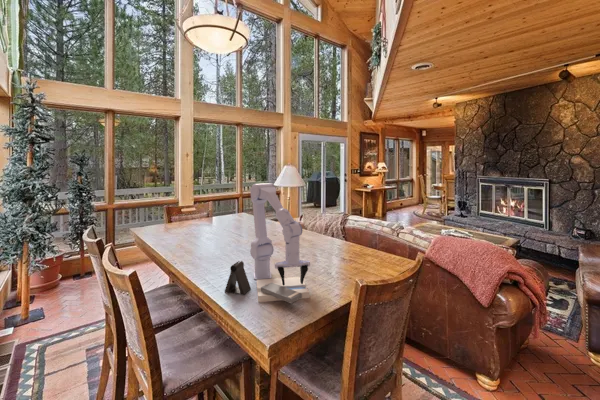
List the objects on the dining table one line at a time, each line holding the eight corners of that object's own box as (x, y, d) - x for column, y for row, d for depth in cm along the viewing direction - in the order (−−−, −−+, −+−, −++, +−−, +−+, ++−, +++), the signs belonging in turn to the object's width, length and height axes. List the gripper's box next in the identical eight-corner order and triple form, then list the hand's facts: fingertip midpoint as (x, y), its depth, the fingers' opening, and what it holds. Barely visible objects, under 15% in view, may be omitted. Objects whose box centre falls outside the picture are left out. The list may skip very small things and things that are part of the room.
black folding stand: (250, 289, 123) (250, 261, 121) (244, 295, 117) (243, 266, 116) (231, 286, 125) (231, 259, 124) (224, 292, 120) (223, 264, 118)
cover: (270, 285, 119) (270, 281, 119) (301, 297, 108) (301, 293, 108) (259, 290, 114) (259, 286, 114) (291, 303, 104) (291, 298, 104)
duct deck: (256, 285, 126) (256, 279, 126) (301, 281, 130) (301, 276, 130) (258, 302, 111) (258, 296, 111) (309, 297, 114) (309, 291, 114)
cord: (281, 288, 118) (281, 291, 116) (305, 287, 120) (306, 289, 118) (281, 294, 118) (281, 296, 116) (305, 292, 120) (306, 294, 118)
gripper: (275, 255, 113) (276, 289, 115) (311, 253, 116) (311, 286, 118) (274, 250, 120) (274, 282, 122) (308, 248, 123) (308, 279, 125)
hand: (292, 283), depth 120 cm, fingers open, 7 cm apart
